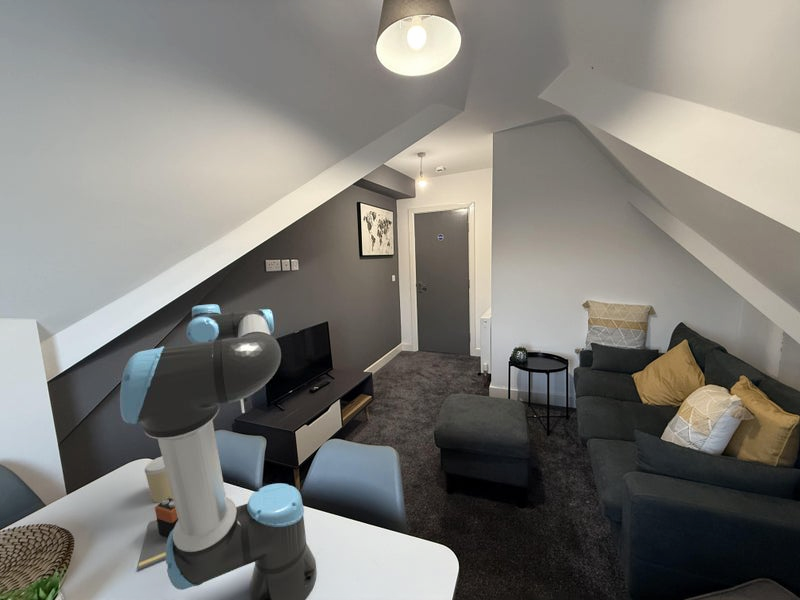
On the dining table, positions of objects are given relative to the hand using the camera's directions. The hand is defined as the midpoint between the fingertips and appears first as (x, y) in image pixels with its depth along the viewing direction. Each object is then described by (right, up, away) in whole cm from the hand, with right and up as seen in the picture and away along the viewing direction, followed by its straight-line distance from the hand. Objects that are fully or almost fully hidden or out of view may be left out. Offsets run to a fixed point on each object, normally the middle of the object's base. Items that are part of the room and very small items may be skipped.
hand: (219, 417), depth 104 cm
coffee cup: (-22, -29, +7) cm, 38 cm away
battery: (-8, -30, -10) cm, 33 cm away
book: (-8, -31, -10) cm, 33 cm away
